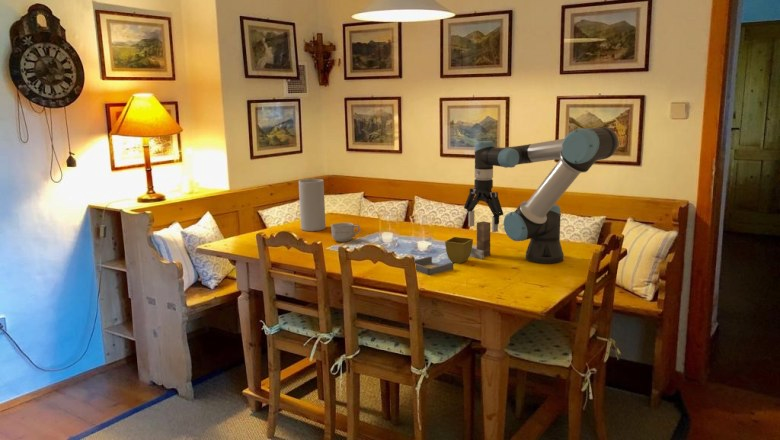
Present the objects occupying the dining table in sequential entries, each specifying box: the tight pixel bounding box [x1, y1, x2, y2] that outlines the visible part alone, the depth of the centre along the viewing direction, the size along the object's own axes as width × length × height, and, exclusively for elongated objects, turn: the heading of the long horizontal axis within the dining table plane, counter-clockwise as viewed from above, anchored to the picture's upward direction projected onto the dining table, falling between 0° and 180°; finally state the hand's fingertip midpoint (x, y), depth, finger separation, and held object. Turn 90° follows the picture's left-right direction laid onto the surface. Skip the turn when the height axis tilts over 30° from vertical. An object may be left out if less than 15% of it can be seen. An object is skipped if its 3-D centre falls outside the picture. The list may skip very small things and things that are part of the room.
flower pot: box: [444, 236, 474, 264], centre depth 262 cm, size 9×9×9 cm
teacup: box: [330, 222, 362, 243], centre depth 302 cm, size 14×11×8 cm
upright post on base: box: [469, 221, 491, 260], centre depth 268 cm, size 9×8×14 cm
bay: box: [414, 256, 454, 276], centre depth 253 cm, size 14×12×2 cm
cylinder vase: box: [298, 178, 327, 232], centre depth 327 cm, size 12×12×25 cm
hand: (482, 229), depth 269 cm, fingers open, 13 cm apart
